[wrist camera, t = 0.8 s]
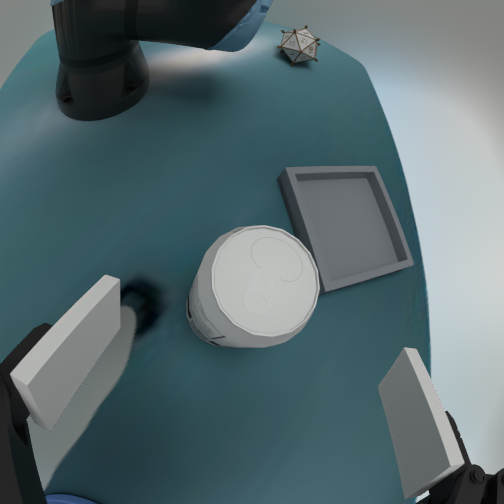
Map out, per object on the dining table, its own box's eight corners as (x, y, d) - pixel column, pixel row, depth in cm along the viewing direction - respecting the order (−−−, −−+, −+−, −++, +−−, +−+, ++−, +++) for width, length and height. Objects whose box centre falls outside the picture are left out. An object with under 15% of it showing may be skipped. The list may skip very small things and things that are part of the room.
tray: (277, 179, 39) (285, 167, 36) (365, 175, 44) (375, 166, 41) (313, 296, 35) (325, 291, 32) (400, 270, 40) (414, 264, 38)
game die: (282, 66, 54) (296, 28, 49) (318, 77, 51) (332, 36, 46) (262, 56, 47) (278, 13, 42) (303, 67, 44) (319, 21, 39)
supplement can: (208, 259, 33) (240, 194, 19) (271, 296, 34) (343, 258, 20) (171, 322, 30) (174, 303, 16) (239, 360, 30) (298, 368, 17)
